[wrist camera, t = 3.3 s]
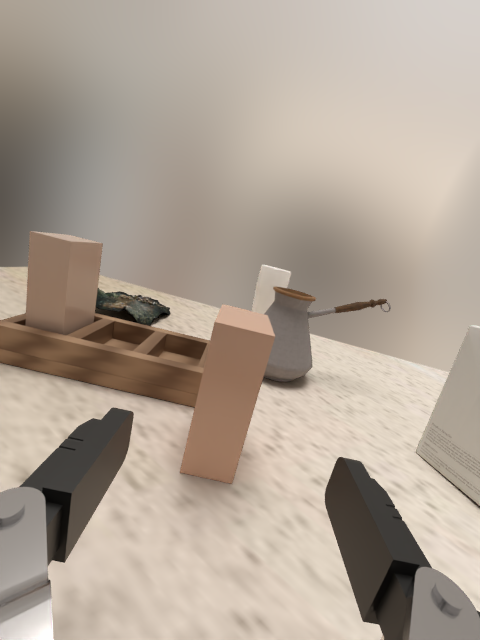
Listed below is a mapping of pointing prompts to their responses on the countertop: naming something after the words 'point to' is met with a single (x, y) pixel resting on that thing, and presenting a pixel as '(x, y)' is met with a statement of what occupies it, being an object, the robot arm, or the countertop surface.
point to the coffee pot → (297, 332)
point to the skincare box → (458, 422)
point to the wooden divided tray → (111, 356)
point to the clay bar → (227, 393)
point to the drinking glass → (268, 287)
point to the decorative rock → (131, 305)
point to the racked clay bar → (62, 282)
